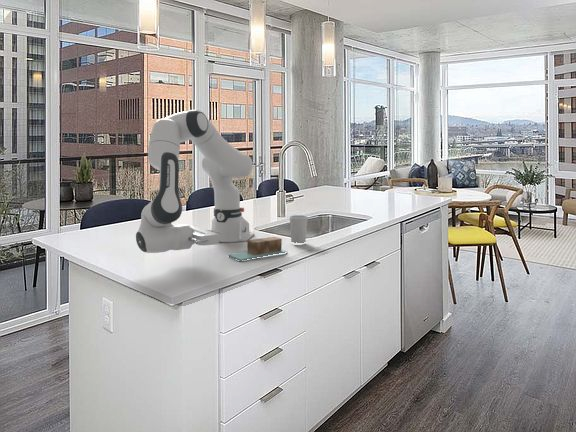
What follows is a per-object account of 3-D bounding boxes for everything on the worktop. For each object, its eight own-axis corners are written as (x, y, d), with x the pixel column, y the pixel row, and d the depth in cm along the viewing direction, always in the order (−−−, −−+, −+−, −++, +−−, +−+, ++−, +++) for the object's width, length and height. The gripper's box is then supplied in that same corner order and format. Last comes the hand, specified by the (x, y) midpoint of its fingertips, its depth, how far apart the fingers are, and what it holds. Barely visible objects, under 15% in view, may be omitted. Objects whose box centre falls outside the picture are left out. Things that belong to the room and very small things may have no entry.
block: (254, 242, 196) (281, 238, 204) (247, 240, 200) (274, 236, 208) (254, 255, 197) (281, 250, 205) (247, 252, 201) (274, 248, 209)
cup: (311, 244, 222) (311, 217, 220) (298, 246, 217) (298, 219, 215) (298, 241, 228) (299, 214, 226) (285, 243, 223) (285, 216, 220)
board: (240, 261, 191) (240, 259, 191) (228, 256, 198) (228, 254, 198) (287, 253, 204) (287, 251, 204) (274, 249, 211) (274, 247, 211)
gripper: (196, 233, 172) (232, 229, 180) (171, 223, 188) (204, 220, 196) (196, 251, 173) (232, 246, 181) (171, 240, 189) (205, 236, 197)
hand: (217, 232), depth 189 cm, fingers closed
